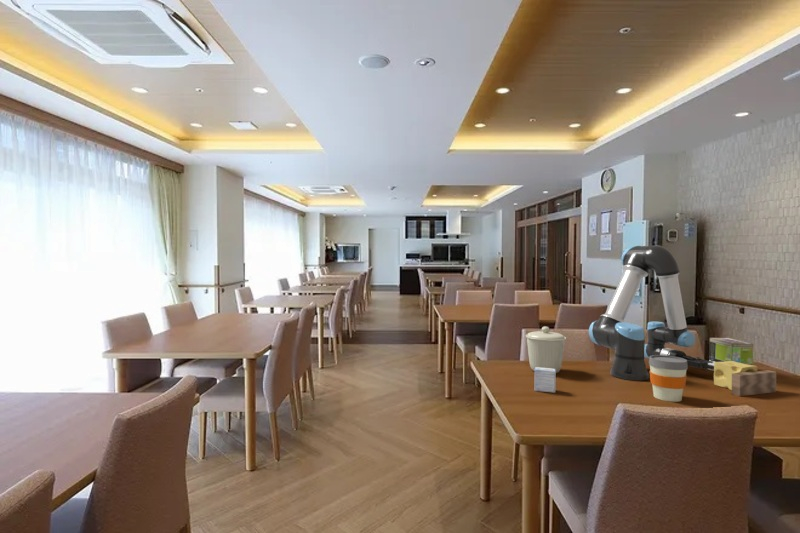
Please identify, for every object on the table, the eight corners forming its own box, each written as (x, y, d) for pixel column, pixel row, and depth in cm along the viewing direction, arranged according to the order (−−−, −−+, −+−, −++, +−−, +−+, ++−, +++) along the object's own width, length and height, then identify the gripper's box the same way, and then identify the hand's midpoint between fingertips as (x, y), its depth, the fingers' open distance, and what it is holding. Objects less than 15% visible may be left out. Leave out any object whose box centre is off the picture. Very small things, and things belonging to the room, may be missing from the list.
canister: (547, 378, 184) (547, 331, 183) (516, 369, 200) (517, 325, 199) (574, 373, 193) (574, 327, 192) (543, 364, 208) (543, 322, 208)
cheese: (737, 392, 166) (737, 367, 166) (711, 384, 177) (712, 360, 177) (758, 390, 169) (758, 366, 168) (731, 383, 179) (732, 359, 179)
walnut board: (739, 396, 161) (739, 375, 161) (731, 393, 164) (731, 373, 164) (776, 391, 167) (776, 372, 167) (767, 389, 170) (767, 370, 170)
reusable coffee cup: (648, 390, 168) (648, 353, 167) (685, 395, 161) (686, 357, 161) (648, 399, 157) (648, 359, 157) (688, 405, 150) (689, 364, 150)
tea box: (753, 375, 192) (754, 343, 192) (731, 375, 192) (732, 343, 192) (728, 366, 207) (729, 337, 207) (708, 366, 207) (708, 337, 207)
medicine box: (555, 389, 168) (555, 368, 168) (555, 393, 164) (555, 371, 163) (534, 387, 170) (534, 366, 170) (534, 391, 166) (534, 369, 166)
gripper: (683, 364, 203) (735, 377, 180) (663, 365, 199) (712, 379, 176) (684, 348, 203) (735, 360, 180) (663, 350, 199) (713, 361, 176)
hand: (724, 369), depth 178 cm, fingers closed
